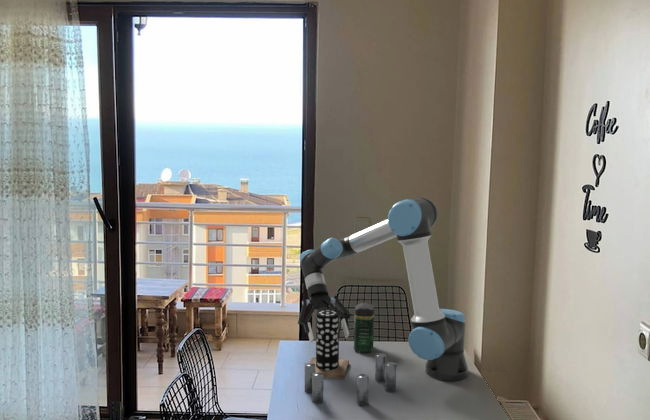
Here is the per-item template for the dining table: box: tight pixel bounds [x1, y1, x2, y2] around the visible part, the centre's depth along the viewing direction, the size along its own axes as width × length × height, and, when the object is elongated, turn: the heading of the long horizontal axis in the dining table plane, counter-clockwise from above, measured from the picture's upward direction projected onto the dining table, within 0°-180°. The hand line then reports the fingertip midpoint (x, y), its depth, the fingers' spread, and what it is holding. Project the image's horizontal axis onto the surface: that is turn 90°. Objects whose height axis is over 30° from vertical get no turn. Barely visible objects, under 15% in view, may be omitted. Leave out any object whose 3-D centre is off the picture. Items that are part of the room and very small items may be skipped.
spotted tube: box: [315, 309, 340, 370], centre depth 197 cm, size 8×8×20 cm
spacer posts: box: [304, 352, 397, 407], centre depth 181 cm, size 30×24×9 cm
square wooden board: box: [309, 356, 350, 380], centre depth 198 cm, size 14×14×2 cm
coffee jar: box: [353, 302, 375, 354], centre depth 217 cm, size 10×8×19 cm
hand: (329, 338), depth 194 cm, fingers open, 13 cm apart
